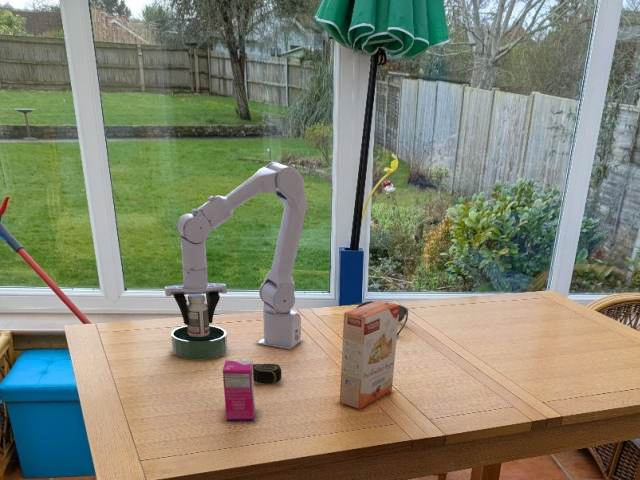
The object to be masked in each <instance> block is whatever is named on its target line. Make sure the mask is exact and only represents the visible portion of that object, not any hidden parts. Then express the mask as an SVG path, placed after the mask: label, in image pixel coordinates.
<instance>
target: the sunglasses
mask: <svg viewBox="0 0 640 480" xmlns="http://www.w3.org/2000/svg"><path fill="white" fill-rule="evenodd" d="M372 302H375V301H374V300H373V301H371V300H370V301H364V302H361V303H360V304H358V306H355V308H354V309H356V308H359V307H361V306H364V305H367V304H370V303H372ZM398 305H399V306H400V307H399V317H398V323H399V322H403V320H404V322H403V324H402V326H401V327H400V329H399V330H398V331H397V338H398V337H399V335H400V334H401V332H402V331H403V329H404V327H405V325H406V323H407V322H408V319H409V309H408V308H407V307H405V306H403V305H401V304H398Z"/></svg>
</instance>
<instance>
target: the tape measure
mask: <svg viewBox="0 0 640 480" xmlns="http://www.w3.org/2000/svg"><path fill="white" fill-rule="evenodd" d="M253 379H254V382H255V383H257V384H261V385H273V384H277V383H280V381H281V380H282V367H281V366H280V365H279V364H276V363H253Z"/></svg>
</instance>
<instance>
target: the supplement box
mask: <svg viewBox="0 0 640 480" xmlns="http://www.w3.org/2000/svg"><path fill="white" fill-rule="evenodd" d="M253 362H254V361H253V360H248V359H246V360H240V359H239V360H237V359H235V360H234V359H233V360H231V359H227V360H225V361H224V364H223V368H222V380H223V393H224V406H225V407H224V408H225V420H226V421H227V422H251V423H253V422H254V421H255V416H256V400H255V399H256V398H255V383H254V382H255V381H254V379H253V364H254V363H253Z"/></svg>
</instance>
